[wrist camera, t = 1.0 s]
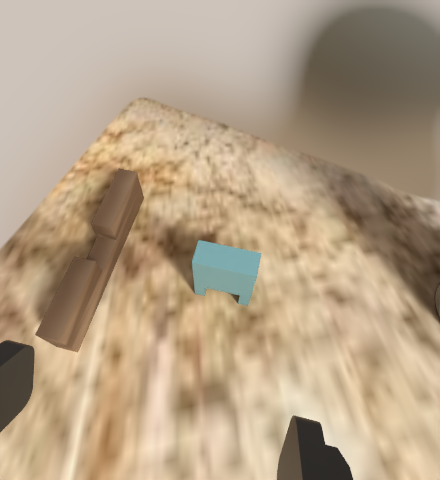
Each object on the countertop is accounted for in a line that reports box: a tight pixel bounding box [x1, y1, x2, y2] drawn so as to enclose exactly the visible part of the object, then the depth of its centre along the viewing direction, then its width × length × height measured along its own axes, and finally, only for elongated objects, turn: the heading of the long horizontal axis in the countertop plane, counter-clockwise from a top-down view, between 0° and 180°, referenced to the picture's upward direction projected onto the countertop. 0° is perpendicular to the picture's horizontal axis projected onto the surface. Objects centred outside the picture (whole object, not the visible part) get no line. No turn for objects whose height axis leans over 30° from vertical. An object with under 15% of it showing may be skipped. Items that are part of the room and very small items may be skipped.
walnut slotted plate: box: [35, 169, 144, 352], centre depth 36 cm, size 2×20×5 cm, turn 167°
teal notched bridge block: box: [192, 240, 261, 306], centre depth 34 cm, size 6×2×8 cm, turn 77°
